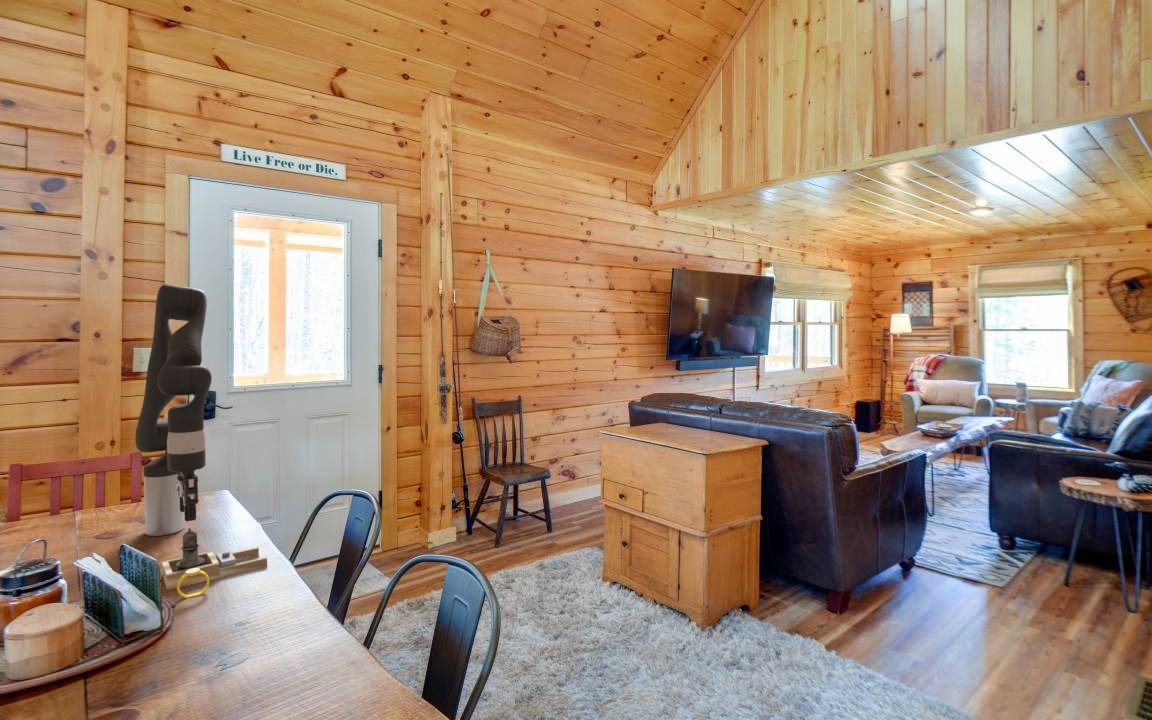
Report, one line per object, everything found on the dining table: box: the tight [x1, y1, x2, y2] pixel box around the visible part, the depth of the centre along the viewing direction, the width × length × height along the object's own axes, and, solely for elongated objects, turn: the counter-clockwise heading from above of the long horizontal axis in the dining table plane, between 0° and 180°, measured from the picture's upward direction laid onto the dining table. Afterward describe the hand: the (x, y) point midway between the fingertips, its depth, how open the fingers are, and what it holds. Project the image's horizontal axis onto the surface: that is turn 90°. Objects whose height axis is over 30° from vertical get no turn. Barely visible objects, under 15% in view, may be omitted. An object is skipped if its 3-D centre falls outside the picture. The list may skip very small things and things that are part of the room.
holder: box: [161, 546, 268, 591], centre depth 142 cm, size 10×21×4 cm, turn 131°
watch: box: [176, 568, 210, 599], centre depth 129 cm, size 6×3×6 cm, turn 128°
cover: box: [216, 550, 237, 568], centre depth 144 cm, size 7×3×4 cm, turn 41°
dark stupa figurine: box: [176, 527, 205, 571], centre depth 139 cm, size 6×6×12 cm
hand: (187, 515), depth 138 cm, fingers open, 8 cm apart
